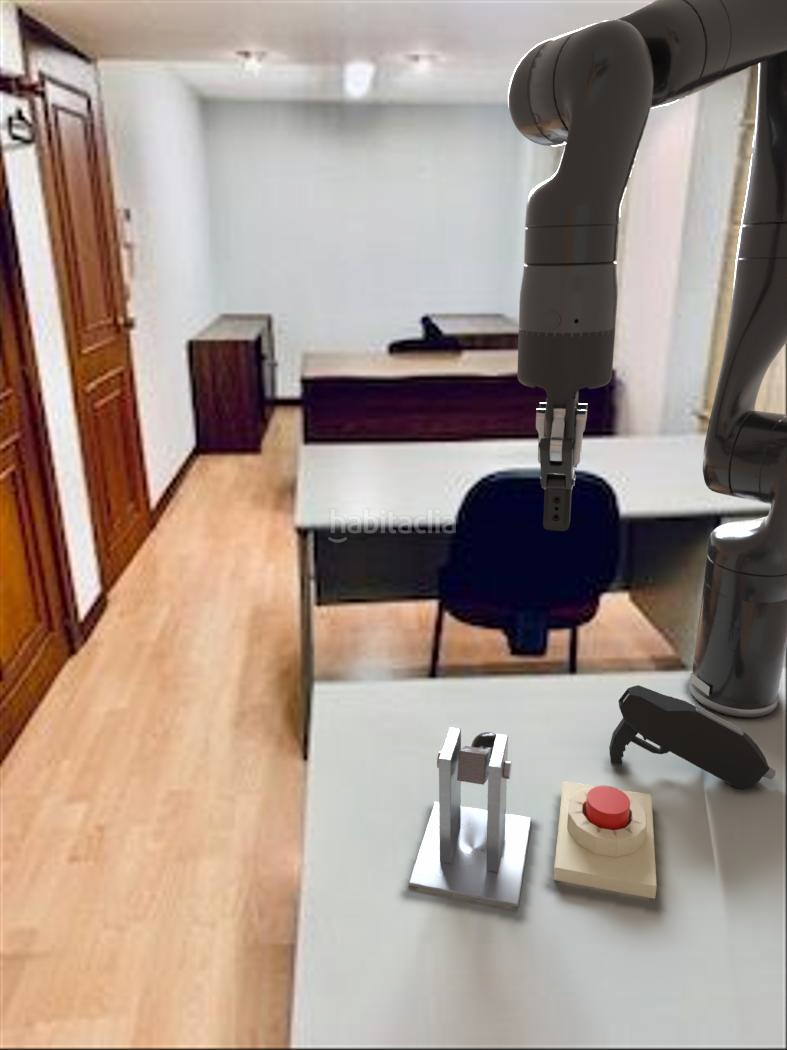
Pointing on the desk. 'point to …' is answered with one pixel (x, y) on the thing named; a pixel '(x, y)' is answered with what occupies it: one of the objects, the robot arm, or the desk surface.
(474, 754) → the press lever
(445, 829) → the lever bracket
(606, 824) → the button
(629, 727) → the gun
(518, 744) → the desk surface
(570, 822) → the button block
